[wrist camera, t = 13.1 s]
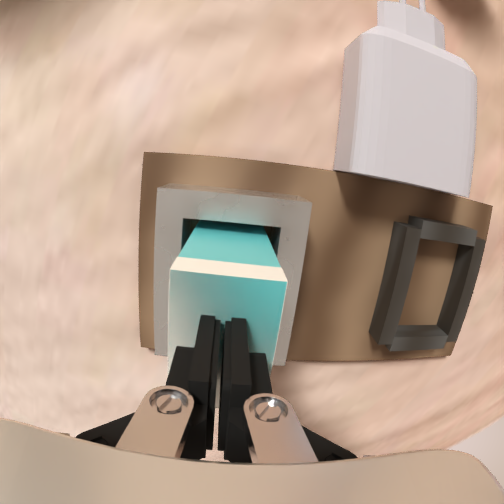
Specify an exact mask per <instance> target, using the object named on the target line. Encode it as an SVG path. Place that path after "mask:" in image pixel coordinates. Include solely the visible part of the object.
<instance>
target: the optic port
mask: <svg viewBox="0 0 504 504" xmlns="http://www.w3.org/2000/svg"><path fill="white" fill-rule="evenodd" d="M311 208H312V202H310V201H308V200H306V199H304V198H302V197H301V196H296V195H288V194H279V193H271V192H262V191H252V190H243V189H232V188H222V187H211V186H199V185H186V184H172V183H170V184H167V185H164V186H161V187H158V188H157V200H156V218H155V241H154V345H155V355H160V356H168V303H169V275H170V268H171V266H172V264H173V263H174V261H175V259H176V258H177V257H178V256H179V254H180V252H181V250H182V249H183V247H184V245H185V244H186V242H187V240H188V239H189V237H190V223H191V219H200V220H211V221H222V222H232V223H243V224H253V225H263V226H272V232H271V240H270V243H271V245H272V248H273V250H274V252H275V255H276V257H277V259H278V262H279V264H280V266H281V268H282V269H283V271H284V274H285V276H286V278H287V281H288V283H287V289H286V295H285V300H284V306H283V312H282V317H281V323H280V328H279V334H278V339H277V344H276V350H275V355H274V360H273V365H280V366H285V362H286V357H287V352H288V347H289V342H290V337H291V331H292V326H293V320H294V315H295V309H296V304H297V298H298V292H299V286H300V280H301V274H302V268H303V262H304V256H305V249H306V243H307V236H308V229H309V222H310V215H311Z"/></svg>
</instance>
